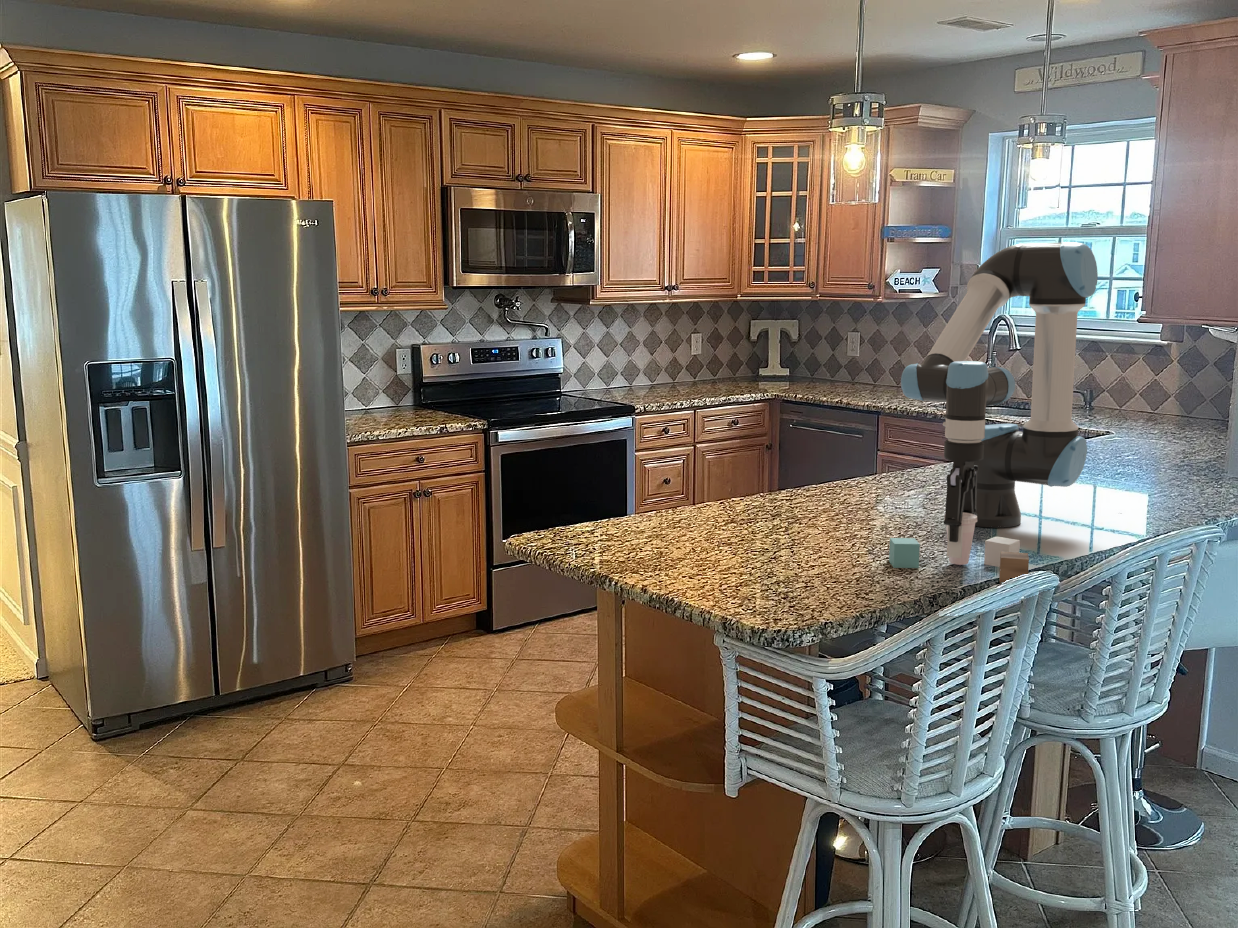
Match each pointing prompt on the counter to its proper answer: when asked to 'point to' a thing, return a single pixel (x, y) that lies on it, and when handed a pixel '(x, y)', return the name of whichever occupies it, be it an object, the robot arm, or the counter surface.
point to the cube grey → (999, 549)
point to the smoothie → (965, 538)
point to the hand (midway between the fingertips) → (959, 552)
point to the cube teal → (904, 553)
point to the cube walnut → (1013, 565)
